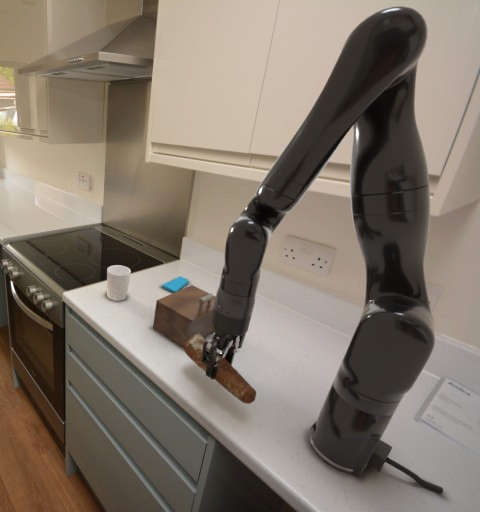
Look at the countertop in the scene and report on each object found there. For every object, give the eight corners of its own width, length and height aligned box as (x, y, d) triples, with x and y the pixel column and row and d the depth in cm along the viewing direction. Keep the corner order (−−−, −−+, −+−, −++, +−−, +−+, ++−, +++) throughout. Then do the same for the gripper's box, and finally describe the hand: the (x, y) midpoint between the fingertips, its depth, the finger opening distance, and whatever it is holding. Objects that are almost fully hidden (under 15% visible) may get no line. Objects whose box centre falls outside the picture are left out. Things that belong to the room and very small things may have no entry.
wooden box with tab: (226, 304, 99) (229, 291, 97) (191, 323, 89) (194, 308, 87) (191, 287, 107) (193, 274, 106) (156, 302, 98) (158, 289, 96)
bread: (199, 349, 87) (202, 330, 85) (259, 403, 71) (265, 382, 69) (179, 355, 85) (182, 336, 82) (237, 412, 69) (242, 391, 67)
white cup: (113, 288, 122) (115, 263, 119) (132, 295, 118) (135, 269, 114) (101, 296, 117) (102, 270, 113) (120, 304, 112) (122, 277, 108)
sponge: (193, 282, 128) (180, 274, 132) (174, 291, 121) (161, 283, 124) (192, 285, 129) (180, 278, 132) (173, 295, 121) (160, 287, 125)
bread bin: (218, 328, 103) (224, 303, 99) (184, 349, 93) (189, 322, 89) (187, 311, 111) (191, 287, 107) (152, 328, 101) (156, 302, 98)
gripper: (230, 327, 64) (214, 395, 71) (267, 304, 72) (250, 367, 79) (197, 310, 69) (185, 374, 76) (234, 290, 78) (221, 350, 84)
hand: (218, 370), depth 77 cm, fingers closed on bread, 6 cm apart
